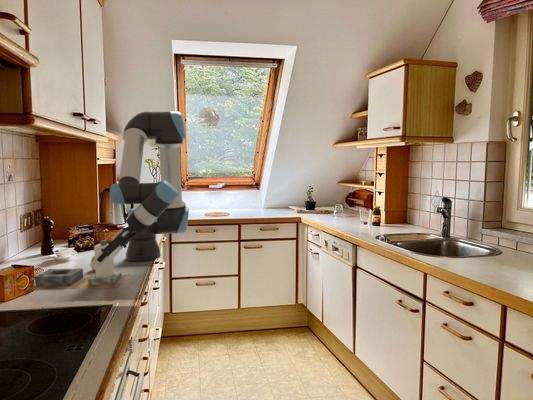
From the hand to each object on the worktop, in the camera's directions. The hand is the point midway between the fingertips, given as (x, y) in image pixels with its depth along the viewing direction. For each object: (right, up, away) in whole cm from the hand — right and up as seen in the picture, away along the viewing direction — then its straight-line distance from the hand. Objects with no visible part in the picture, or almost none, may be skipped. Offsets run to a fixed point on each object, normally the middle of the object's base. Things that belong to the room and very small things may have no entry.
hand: (100, 262), depth 147 cm
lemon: (-7, -7, +17) cm, 20 cm away
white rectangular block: (+1, -7, +1) cm, 7 cm away
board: (-7, -8, +1) cm, 11 cm away
